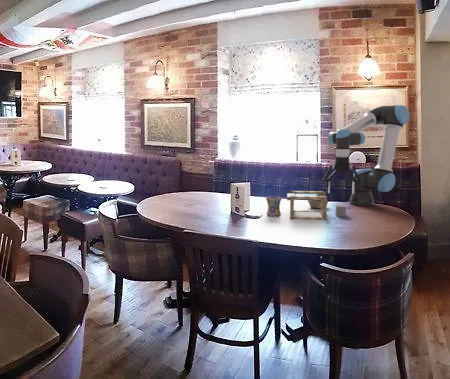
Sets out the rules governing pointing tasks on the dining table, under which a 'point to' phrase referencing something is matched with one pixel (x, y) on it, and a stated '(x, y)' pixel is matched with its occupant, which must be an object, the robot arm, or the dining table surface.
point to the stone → (340, 211)
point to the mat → (307, 214)
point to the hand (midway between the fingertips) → (340, 193)
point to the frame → (322, 198)
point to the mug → (273, 206)
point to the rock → (315, 202)
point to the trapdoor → (298, 195)
